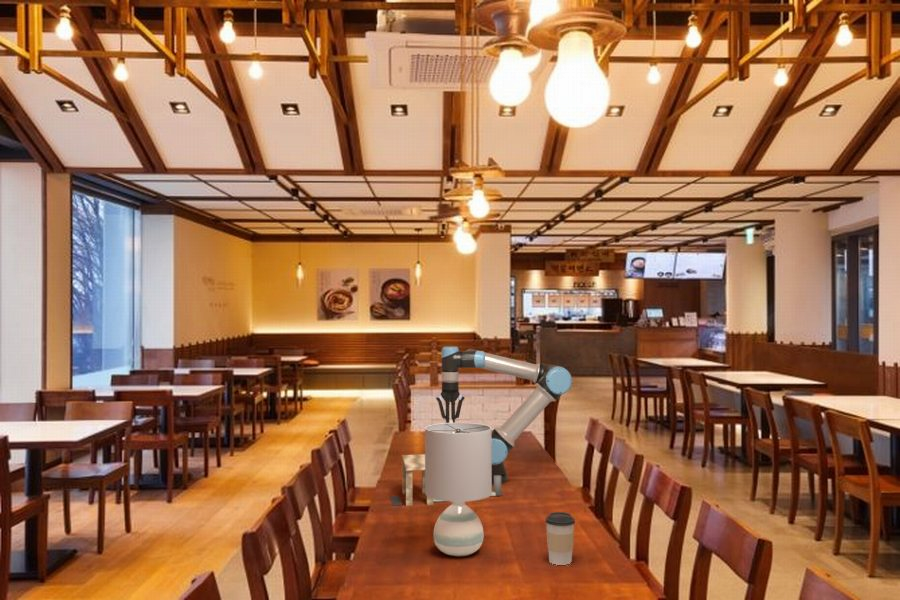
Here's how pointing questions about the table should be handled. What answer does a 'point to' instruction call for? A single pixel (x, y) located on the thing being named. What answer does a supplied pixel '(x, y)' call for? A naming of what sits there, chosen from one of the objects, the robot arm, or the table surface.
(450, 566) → the table surface
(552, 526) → the coffee cup
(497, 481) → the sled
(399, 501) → the pit mat
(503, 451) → the robot arm
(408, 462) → the bridge
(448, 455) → the lamp
